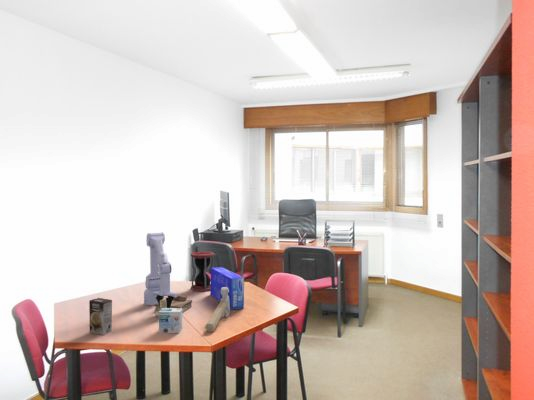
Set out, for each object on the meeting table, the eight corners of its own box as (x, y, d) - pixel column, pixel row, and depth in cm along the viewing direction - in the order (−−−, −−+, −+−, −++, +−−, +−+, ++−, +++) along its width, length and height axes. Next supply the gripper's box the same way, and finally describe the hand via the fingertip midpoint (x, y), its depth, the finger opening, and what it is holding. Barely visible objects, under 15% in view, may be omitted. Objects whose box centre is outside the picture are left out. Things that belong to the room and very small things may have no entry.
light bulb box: (158, 333, 217) (158, 311, 216) (161, 328, 224) (161, 307, 223) (180, 333, 217) (180, 311, 216) (182, 328, 224) (182, 307, 223)
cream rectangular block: (159, 314, 247) (159, 300, 246) (163, 312, 251) (163, 298, 250) (166, 315, 246) (166, 301, 245) (169, 313, 249) (169, 299, 249)
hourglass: (210, 285, 318) (210, 250, 317) (217, 290, 303) (217, 254, 302) (188, 287, 311) (188, 252, 310) (194, 292, 296) (194, 255, 295)
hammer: (212, 314, 216) (229, 286, 244) (203, 314, 217) (221, 286, 245) (215, 342, 220) (231, 312, 248) (206, 342, 221) (223, 311, 249)
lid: (154, 306, 253) (154, 300, 253) (167, 299, 267) (167, 293, 267) (180, 308, 248) (180, 302, 248) (192, 301, 262) (192, 296, 262)
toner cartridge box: (244, 308, 260) (244, 277, 259) (231, 310, 256) (231, 279, 255) (222, 293, 295) (222, 266, 294) (210, 294, 291) (210, 267, 290)
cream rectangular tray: (148, 314, 247) (148, 309, 247) (167, 304, 267) (167, 299, 267) (174, 317, 242) (174, 311, 242) (191, 307, 262) (191, 302, 262)
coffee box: (88, 332, 217) (88, 300, 216) (98, 328, 223) (98, 297, 222) (103, 335, 213) (102, 302, 213) (112, 331, 219) (112, 299, 218)
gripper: (149, 285, 246) (149, 309, 246) (172, 287, 242) (172, 312, 242) (156, 282, 252) (156, 306, 253) (179, 284, 248) (179, 308, 249)
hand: (164, 308), depth 248 cm, fingers closed on cream rectangular block, 4 cm apart
